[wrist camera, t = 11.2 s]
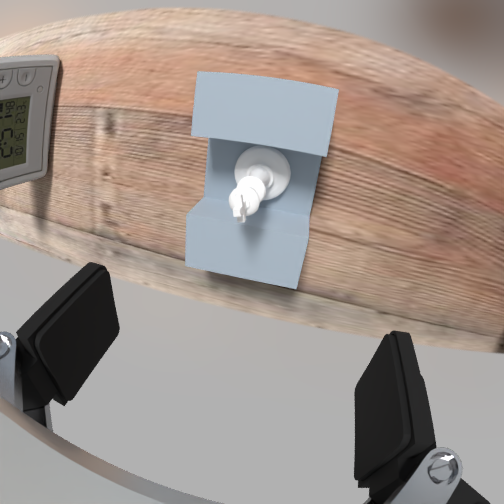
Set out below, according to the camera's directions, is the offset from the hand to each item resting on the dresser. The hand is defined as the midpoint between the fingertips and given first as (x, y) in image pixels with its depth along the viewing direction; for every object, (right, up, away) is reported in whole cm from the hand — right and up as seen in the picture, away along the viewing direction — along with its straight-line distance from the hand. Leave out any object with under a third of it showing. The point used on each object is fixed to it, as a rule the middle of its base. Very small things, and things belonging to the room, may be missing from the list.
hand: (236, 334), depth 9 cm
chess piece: (+1, +10, +17) cm, 20 cm away
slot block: (+1, +10, +18) cm, 21 cm away
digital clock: (-26, +20, +19) cm, 38 cm away
